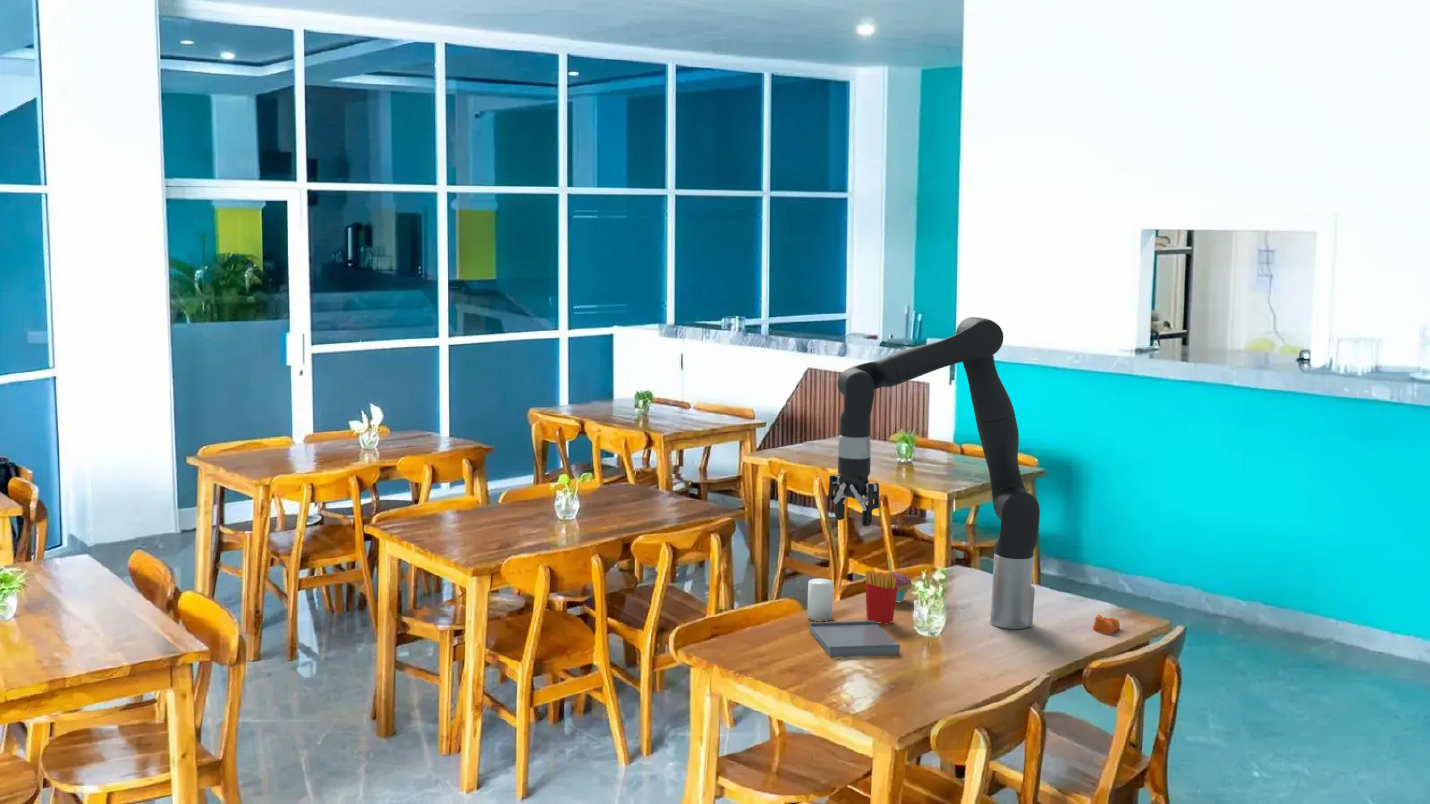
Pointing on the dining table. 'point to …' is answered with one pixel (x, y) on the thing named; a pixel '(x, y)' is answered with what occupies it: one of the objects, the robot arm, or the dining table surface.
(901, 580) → the cupcake
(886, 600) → the french fries
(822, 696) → the dining table surface
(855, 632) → the slate board
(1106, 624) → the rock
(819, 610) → the white rounded cylinder
